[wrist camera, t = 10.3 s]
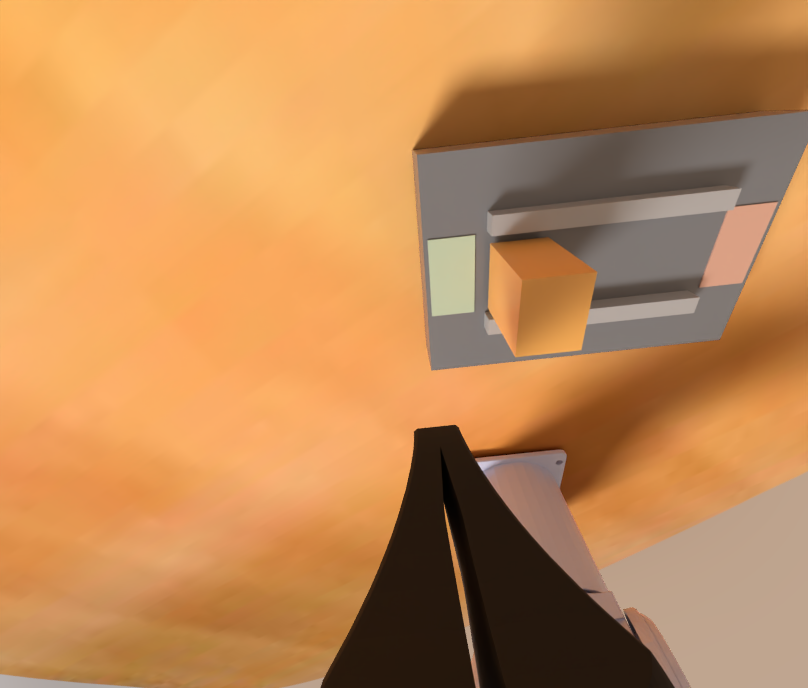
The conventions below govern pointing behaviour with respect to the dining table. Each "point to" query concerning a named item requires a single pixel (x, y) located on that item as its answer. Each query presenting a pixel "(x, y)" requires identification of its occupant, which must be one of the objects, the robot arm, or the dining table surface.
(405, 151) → the dining table surface
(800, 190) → the dining table surface
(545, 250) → the handle
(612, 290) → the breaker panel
